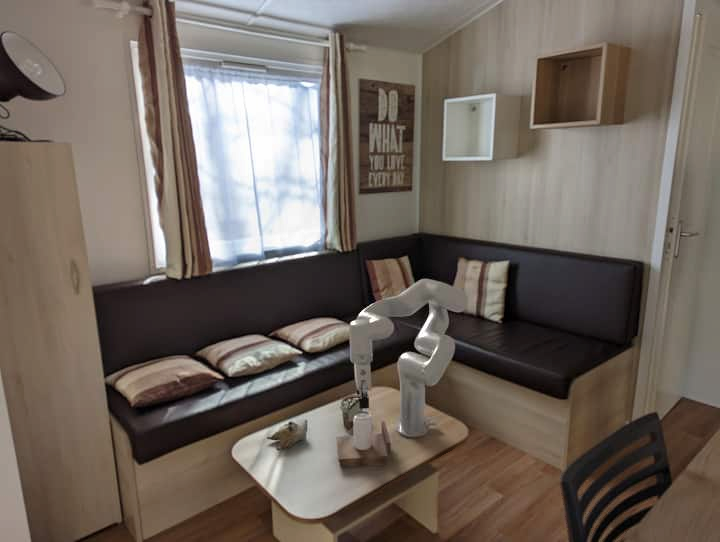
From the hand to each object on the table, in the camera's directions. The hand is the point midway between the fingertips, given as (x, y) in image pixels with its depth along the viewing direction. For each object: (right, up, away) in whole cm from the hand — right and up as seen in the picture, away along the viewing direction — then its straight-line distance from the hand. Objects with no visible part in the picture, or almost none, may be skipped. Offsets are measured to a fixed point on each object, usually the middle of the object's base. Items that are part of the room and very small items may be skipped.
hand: (362, 400), depth 177 cm
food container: (-5, -16, +27) cm, 32 cm away
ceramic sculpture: (-27, -19, +14) cm, 36 cm away
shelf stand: (0, -21, +5) cm, 21 cm away
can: (0, -17, +4) cm, 18 cm away
